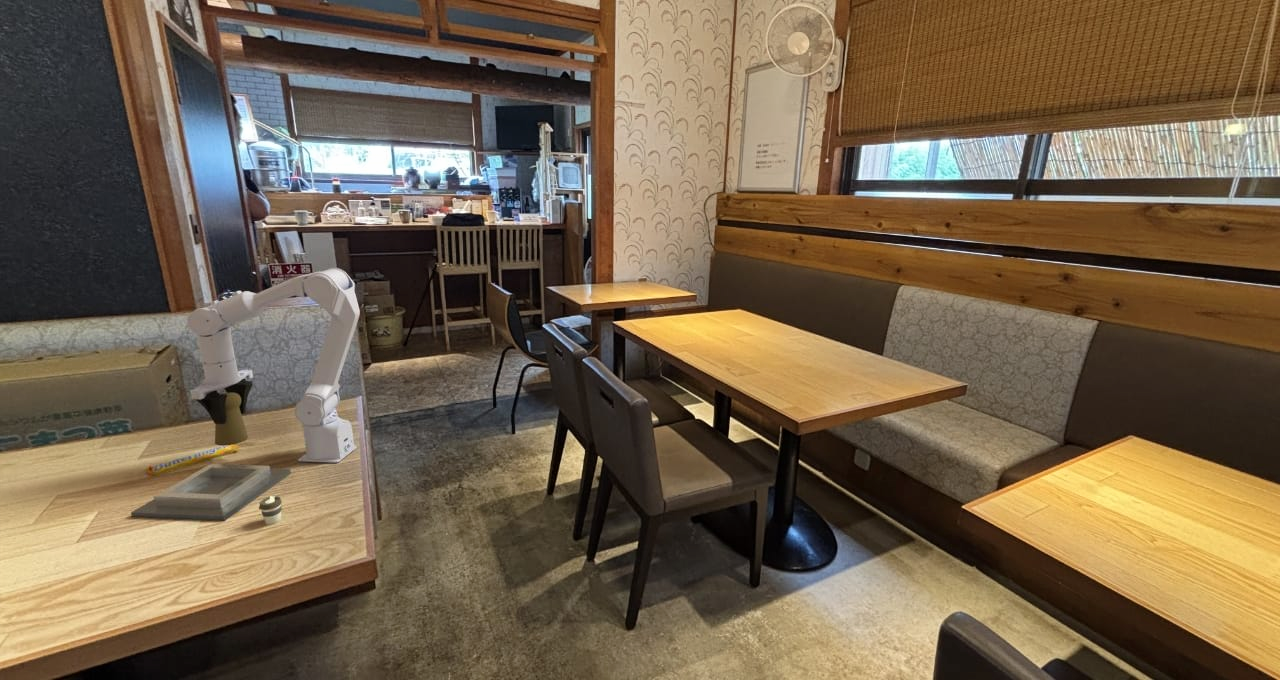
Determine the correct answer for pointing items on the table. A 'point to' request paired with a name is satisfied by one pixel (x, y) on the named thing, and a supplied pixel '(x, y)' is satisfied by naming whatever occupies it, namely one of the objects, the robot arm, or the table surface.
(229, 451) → the candy bar
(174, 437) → the table surface
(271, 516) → the coffee cup
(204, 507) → the socket board
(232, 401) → the brown rounded piece
